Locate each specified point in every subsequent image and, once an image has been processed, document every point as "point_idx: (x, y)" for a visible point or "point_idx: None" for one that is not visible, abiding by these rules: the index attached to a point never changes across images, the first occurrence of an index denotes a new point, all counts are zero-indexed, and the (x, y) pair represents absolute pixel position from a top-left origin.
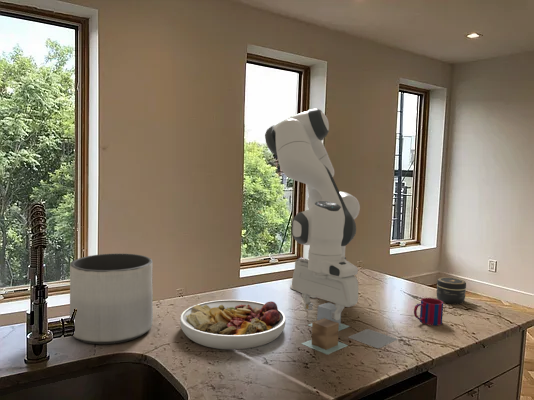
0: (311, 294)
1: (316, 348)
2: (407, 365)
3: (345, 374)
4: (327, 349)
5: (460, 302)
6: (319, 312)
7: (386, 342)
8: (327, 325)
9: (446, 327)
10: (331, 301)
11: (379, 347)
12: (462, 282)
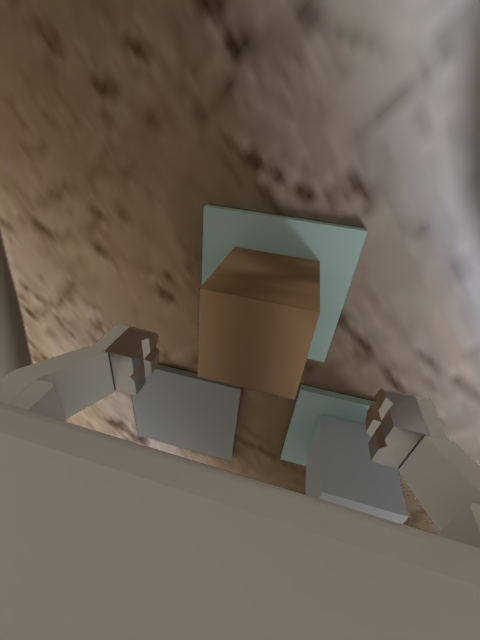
0: (362, 527)
1: (275, 232)
2: (30, 316)
3: (59, 100)
4: None
5: None
6: (388, 481)
7: (140, 406)
8: (218, 318)
9: None
10: (31, 417)
11: None
12: None
